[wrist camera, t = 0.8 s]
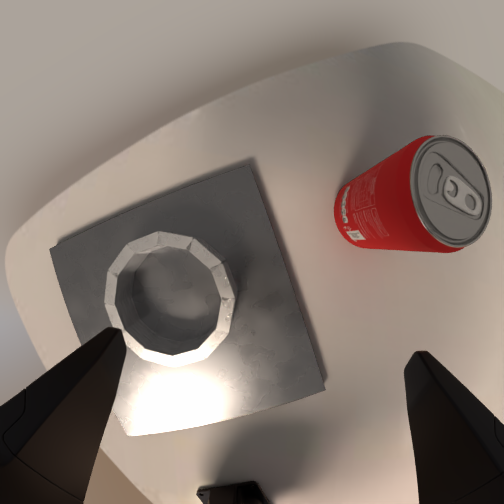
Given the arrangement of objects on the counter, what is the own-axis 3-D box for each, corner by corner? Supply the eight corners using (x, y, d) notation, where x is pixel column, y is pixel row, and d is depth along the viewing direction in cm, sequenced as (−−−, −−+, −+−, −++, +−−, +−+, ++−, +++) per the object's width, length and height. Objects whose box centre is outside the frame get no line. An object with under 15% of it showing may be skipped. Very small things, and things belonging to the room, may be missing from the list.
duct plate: (323, 384, 22) (334, 408, 18) (131, 430, 23) (116, 454, 19) (249, 167, 22) (248, 152, 18) (55, 248, 22) (27, 250, 18)
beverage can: (344, 169, 22) (421, 107, 10) (399, 199, 22) (502, 169, 10) (319, 231, 22) (388, 218, 10) (377, 258, 22) (479, 272, 10)
